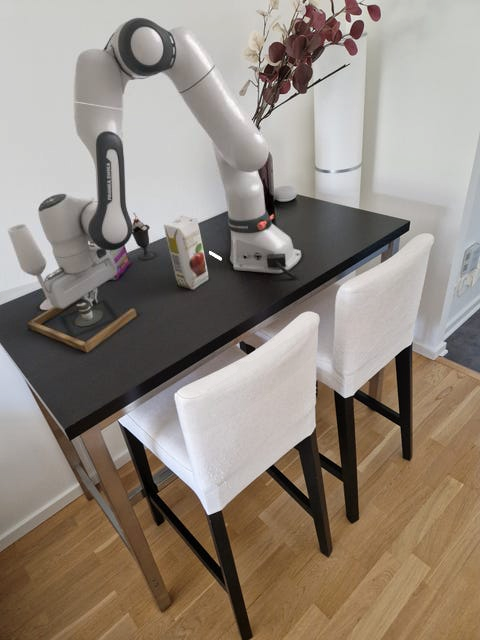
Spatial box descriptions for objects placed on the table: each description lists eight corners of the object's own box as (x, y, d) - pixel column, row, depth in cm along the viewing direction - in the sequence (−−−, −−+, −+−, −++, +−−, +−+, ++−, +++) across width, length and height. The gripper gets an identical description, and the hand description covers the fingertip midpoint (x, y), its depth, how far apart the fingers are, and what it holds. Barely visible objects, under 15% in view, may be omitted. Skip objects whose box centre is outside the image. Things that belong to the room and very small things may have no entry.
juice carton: (174, 286, 126) (159, 225, 115) (194, 273, 131) (182, 213, 120) (192, 292, 121) (178, 229, 111) (212, 278, 126) (201, 217, 116)
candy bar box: (117, 263, 143) (102, 217, 134) (131, 263, 142) (116, 216, 133) (102, 280, 135) (85, 232, 125) (116, 280, 133) (100, 231, 124)
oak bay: (137, 315, 115) (135, 309, 114) (87, 352, 104) (84, 346, 103) (79, 297, 128) (77, 291, 127) (29, 328, 117) (26, 323, 116)
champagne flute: (62, 295, 130) (30, 220, 117) (63, 305, 125) (29, 228, 111) (39, 301, 129) (4, 226, 115) (39, 312, 123) (2, 235, 110)
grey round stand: (116, 319, 115) (110, 303, 112) (72, 337, 111) (65, 321, 108) (103, 301, 124) (97, 286, 121) (61, 317, 119) (55, 302, 117)
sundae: (147, 250, 149) (135, 209, 140) (160, 254, 145) (149, 211, 137) (133, 259, 145) (120, 217, 136) (147, 262, 141) (134, 219, 133)
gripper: (48, 281, 102) (69, 327, 109) (112, 244, 115) (127, 288, 122) (33, 276, 105) (54, 322, 113) (97, 241, 118) (112, 284, 126)
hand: (93, 304), depth 118 cm, fingers closed
